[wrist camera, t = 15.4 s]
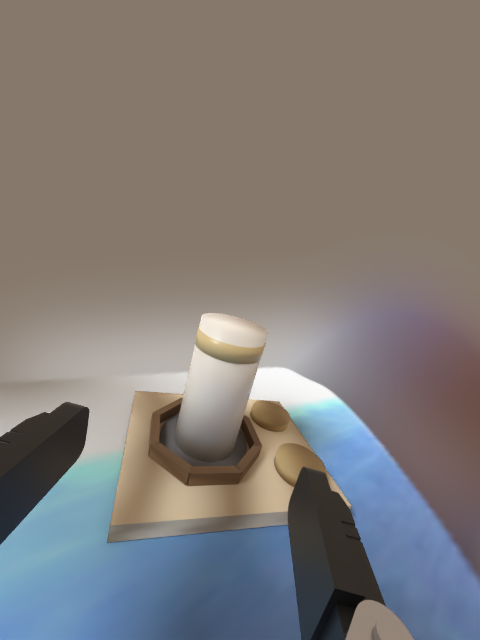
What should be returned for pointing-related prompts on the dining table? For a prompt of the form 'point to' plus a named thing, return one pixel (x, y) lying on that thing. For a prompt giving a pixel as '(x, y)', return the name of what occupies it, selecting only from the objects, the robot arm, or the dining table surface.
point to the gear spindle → (218, 385)
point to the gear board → (207, 474)
